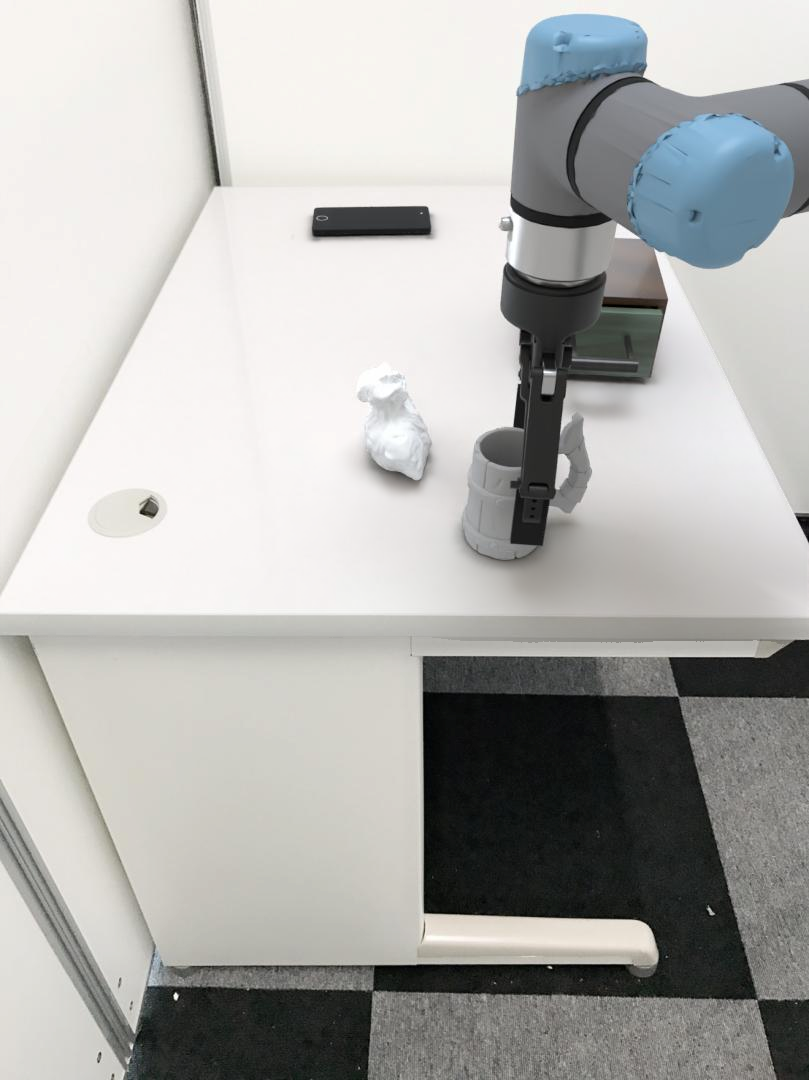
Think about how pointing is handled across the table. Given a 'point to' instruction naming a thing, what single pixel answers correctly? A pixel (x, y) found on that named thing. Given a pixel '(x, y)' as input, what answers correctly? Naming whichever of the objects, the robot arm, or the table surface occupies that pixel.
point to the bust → (393, 423)
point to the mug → (495, 500)
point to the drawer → (617, 342)
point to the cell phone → (371, 220)
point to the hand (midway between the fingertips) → (525, 490)
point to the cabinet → (635, 278)
